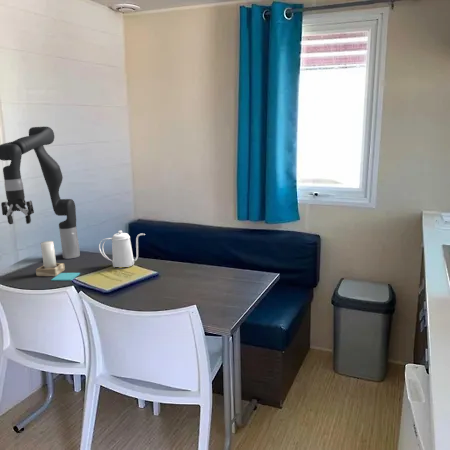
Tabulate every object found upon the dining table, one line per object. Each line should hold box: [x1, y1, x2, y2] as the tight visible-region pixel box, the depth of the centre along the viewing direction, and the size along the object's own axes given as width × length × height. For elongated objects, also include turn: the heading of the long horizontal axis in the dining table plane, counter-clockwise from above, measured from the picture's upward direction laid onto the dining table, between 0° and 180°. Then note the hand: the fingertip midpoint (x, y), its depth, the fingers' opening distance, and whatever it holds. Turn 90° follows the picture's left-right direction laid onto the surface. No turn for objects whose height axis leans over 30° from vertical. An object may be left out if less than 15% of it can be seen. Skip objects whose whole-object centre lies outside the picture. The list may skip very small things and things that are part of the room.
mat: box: [51, 272, 81, 282], centre depth 222 cm, size 10×10×1 cm
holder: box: [35, 262, 66, 277], centre depth 230 cm, size 10×10×4 cm
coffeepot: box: [98, 230, 146, 268], centre depth 234 cm, size 11×25×19 cm, turn 84°
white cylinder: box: [40, 240, 57, 269], centre depth 228 cm, size 6×6×16 cm
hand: (19, 223), depth 209 cm, fingers open, 8 cm apart
